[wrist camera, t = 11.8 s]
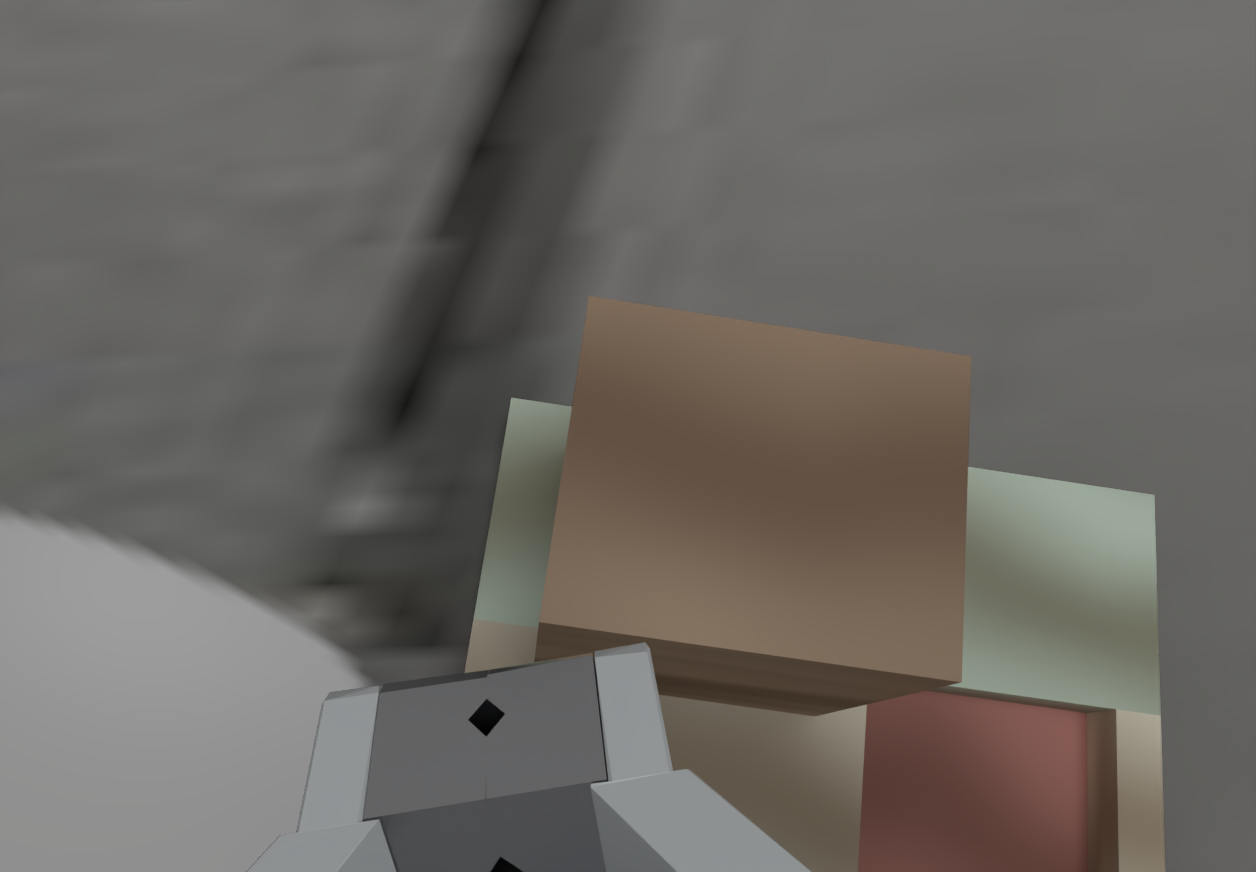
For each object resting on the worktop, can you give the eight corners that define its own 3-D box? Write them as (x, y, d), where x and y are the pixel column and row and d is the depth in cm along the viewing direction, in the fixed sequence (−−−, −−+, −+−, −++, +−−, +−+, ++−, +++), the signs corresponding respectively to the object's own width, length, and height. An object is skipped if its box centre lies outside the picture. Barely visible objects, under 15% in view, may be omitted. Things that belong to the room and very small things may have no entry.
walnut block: (814, 716, 23) (962, 681, 15) (532, 676, 23) (539, 621, 15) (830, 489, 24) (971, 356, 17) (567, 449, 24) (588, 295, 17)
